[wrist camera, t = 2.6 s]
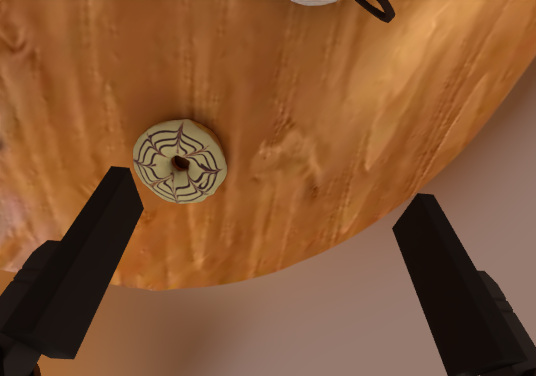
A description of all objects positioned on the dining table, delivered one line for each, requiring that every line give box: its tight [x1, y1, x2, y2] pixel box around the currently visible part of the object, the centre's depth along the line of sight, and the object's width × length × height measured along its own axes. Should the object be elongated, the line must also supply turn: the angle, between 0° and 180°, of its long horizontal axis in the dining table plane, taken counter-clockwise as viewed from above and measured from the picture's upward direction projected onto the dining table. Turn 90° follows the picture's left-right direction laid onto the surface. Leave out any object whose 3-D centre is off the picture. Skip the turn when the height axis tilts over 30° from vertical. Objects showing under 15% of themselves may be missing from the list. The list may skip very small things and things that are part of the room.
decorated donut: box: [133, 119, 227, 204], centre depth 32 cm, size 10×11×4 cm
